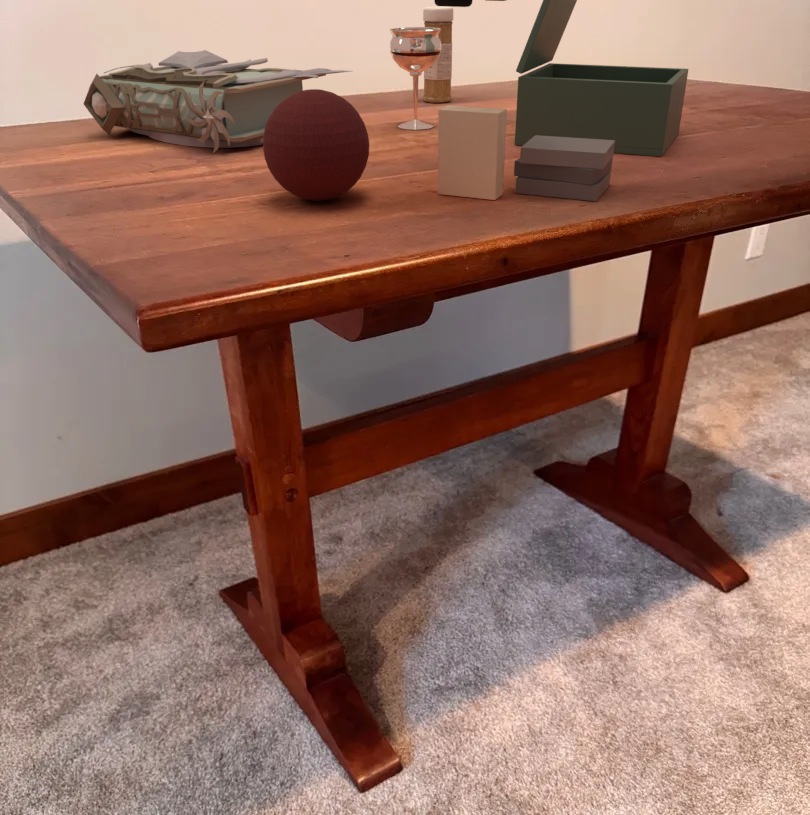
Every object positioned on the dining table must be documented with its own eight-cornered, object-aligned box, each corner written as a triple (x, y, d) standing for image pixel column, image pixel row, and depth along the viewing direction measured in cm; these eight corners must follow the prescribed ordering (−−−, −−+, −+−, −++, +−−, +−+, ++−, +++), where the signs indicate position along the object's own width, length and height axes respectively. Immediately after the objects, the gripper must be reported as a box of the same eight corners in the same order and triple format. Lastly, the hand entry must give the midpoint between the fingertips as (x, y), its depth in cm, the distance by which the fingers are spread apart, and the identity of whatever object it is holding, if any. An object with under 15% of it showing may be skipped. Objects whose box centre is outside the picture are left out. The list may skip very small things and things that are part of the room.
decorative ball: (335, 180, 84) (330, 78, 79) (391, 200, 77) (389, 90, 72) (250, 197, 79) (238, 89, 74) (301, 220, 72) (292, 102, 67)
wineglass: (420, 119, 113) (420, 26, 107) (450, 126, 108) (452, 29, 102) (381, 125, 110) (378, 29, 104) (410, 133, 105) (409, 32, 99)
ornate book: (81, 143, 106) (247, 160, 92) (63, 65, 102) (235, 70, 87) (203, 116, 123) (361, 127, 108) (193, 47, 118) (356, 49, 103)
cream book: (503, 194, 78) (507, 108, 74) (495, 200, 77) (498, 113, 73) (446, 188, 81) (447, 104, 77) (437, 194, 79) (438, 109, 75)
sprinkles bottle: (418, 100, 128) (418, 6, 121) (444, 98, 129) (445, 5, 123) (430, 104, 124) (431, 7, 117) (457, 102, 126) (458, 6, 119)
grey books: (613, 185, 81) (619, 139, 79) (599, 202, 75) (604, 154, 73) (530, 177, 84) (532, 133, 82) (510, 193, 79) (512, 146, 76)
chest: (678, 134, 102) (688, 68, 98) (661, 156, 91) (672, 84, 88) (544, 125, 109) (549, 63, 105) (514, 145, 98) (518, 76, 94)
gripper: (492, -273, 54) (480, 10, 62) (559, -228, 67) (542, -1, 76) (391, -263, 56) (393, 7, 65) (476, -222, 70) (468, -3, 79)
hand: (473, 3), depth 70 cm, fingers open, 9 cm apart
